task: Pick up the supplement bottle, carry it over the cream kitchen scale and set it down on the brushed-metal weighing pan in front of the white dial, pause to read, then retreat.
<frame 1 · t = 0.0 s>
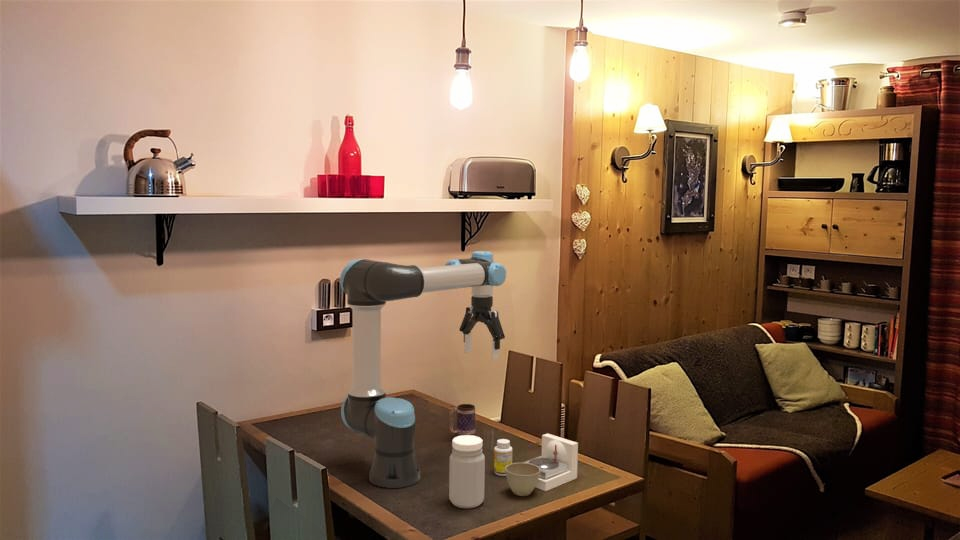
hand: (481, 355, 270), 28 cm above the table, fingers open, 13 cm apart
supplement bottle: (502, 473, 234), on the table
jar: (466, 503, 213), on the table
scale base: (543, 479, 229), on the table
pan: (543, 466, 229), point 4 cm above the table, slide at -0.2 cm
mug: (462, 440, 265), on the table
flower pot: (522, 493, 220), on the table
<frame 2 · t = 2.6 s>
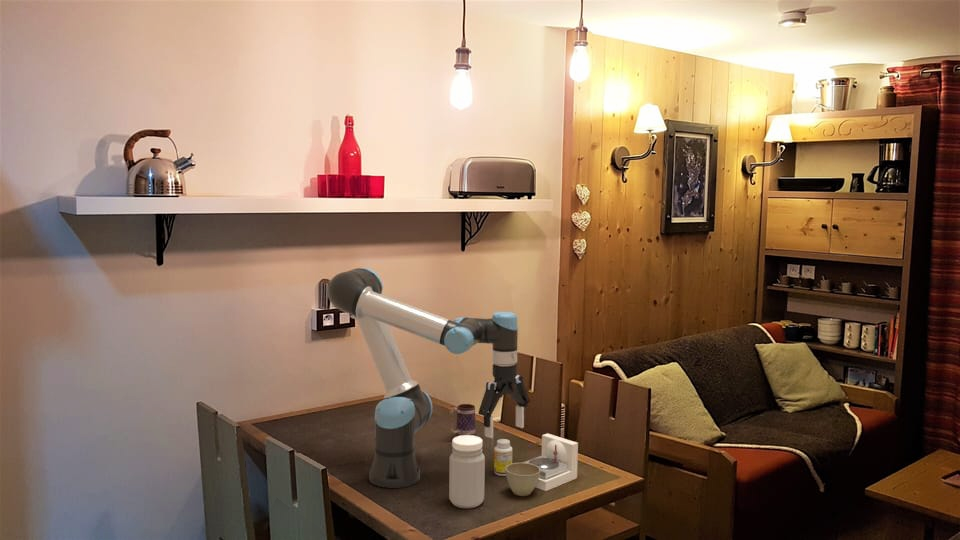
hand: (504, 431, 233), 13 cm above the table, fingers open, 13 cm apart
nothing on the table moved.
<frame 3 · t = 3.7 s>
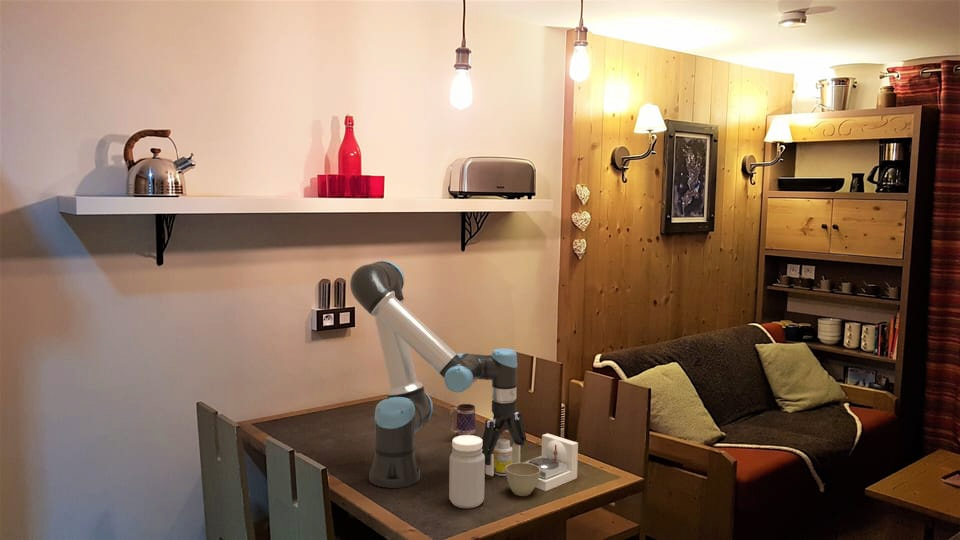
hand: (503, 469, 234), 1 cm above the table, fingers open, 11 cm apart
nothing on the table moved.
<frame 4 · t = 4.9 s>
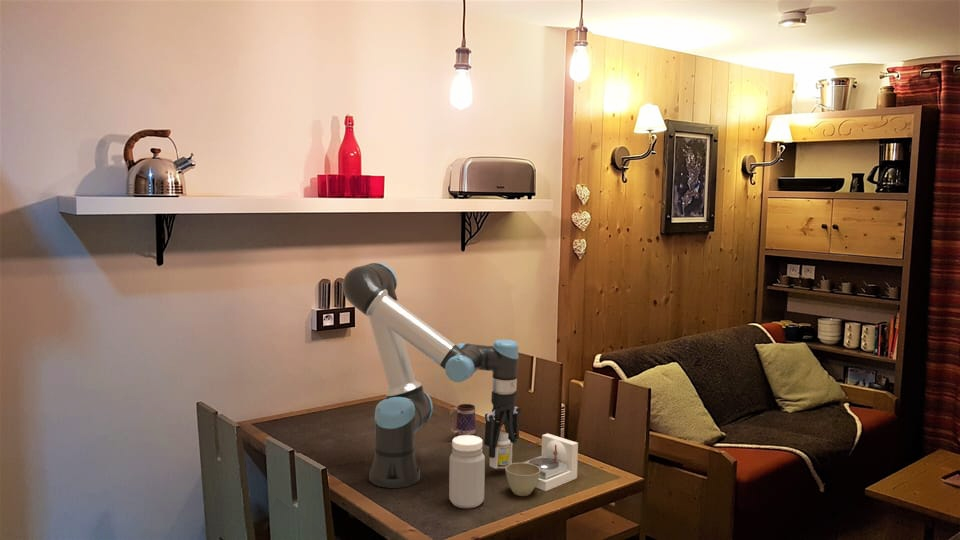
hand: (500, 464, 234), 3 cm above the table, fingers closed on supplement bottle, 6 cm apart
supplement bottle: (500, 466, 234), point 2 cm above the table, touching gripper
everything else where it was.
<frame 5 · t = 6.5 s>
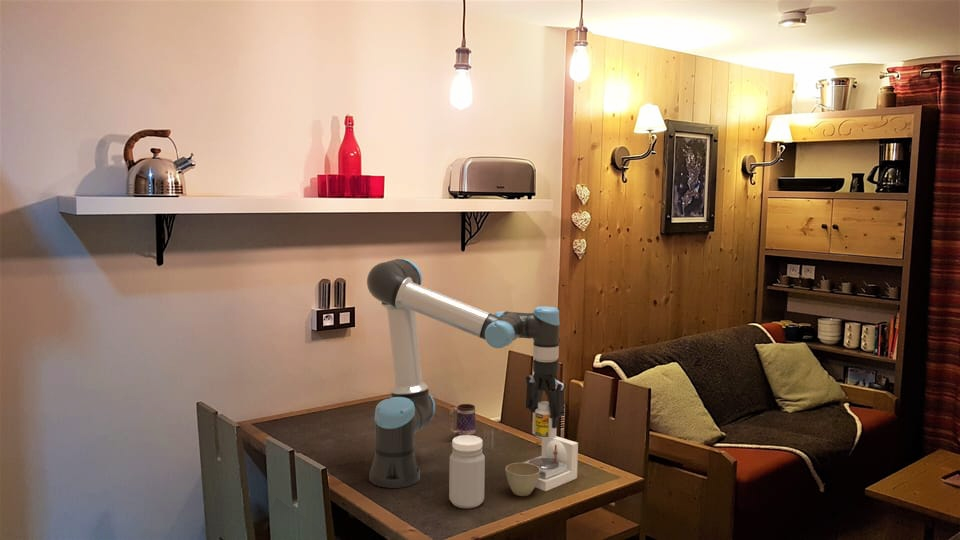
hand: (544, 435, 228), 14 cm above the table, fingers closed on supplement bottle, 6 cm apart
supplement bottle: (544, 437, 228), point 13 cm above the table, touching gripper
everything else where it was.
when the fingers open (7 cm above the table, at t = 7.9 s): supplement bottle drops 2 cm, resting on pan.
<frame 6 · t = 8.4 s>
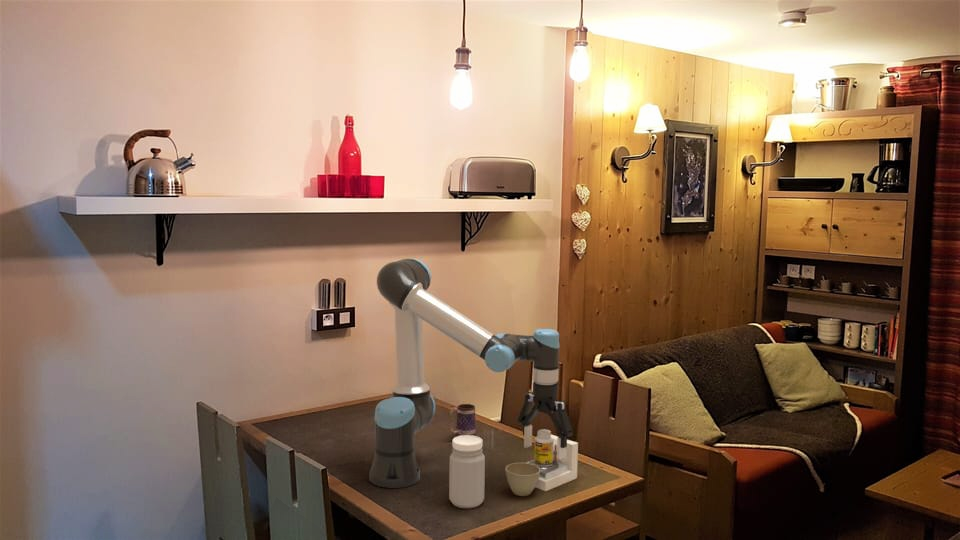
hand: (544, 452, 228), 9 cm above the table, fingers open, 12 cm apart
supplement bottle: (543, 465, 229), point 5 cm above the table, touching pan
pan: (543, 467, 229), point 4 cm above the table, slide at -0.5 cm, touching supplement bottle
everything else where it was.
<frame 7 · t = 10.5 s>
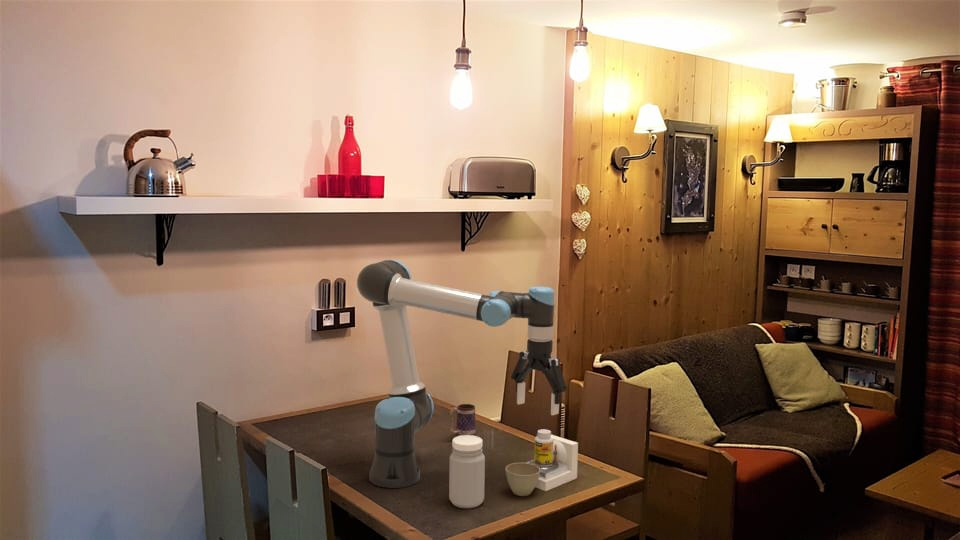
hand: (537, 408, 229), 21 cm above the table, fingers open, 13 cm apart
nothing on the table moved.
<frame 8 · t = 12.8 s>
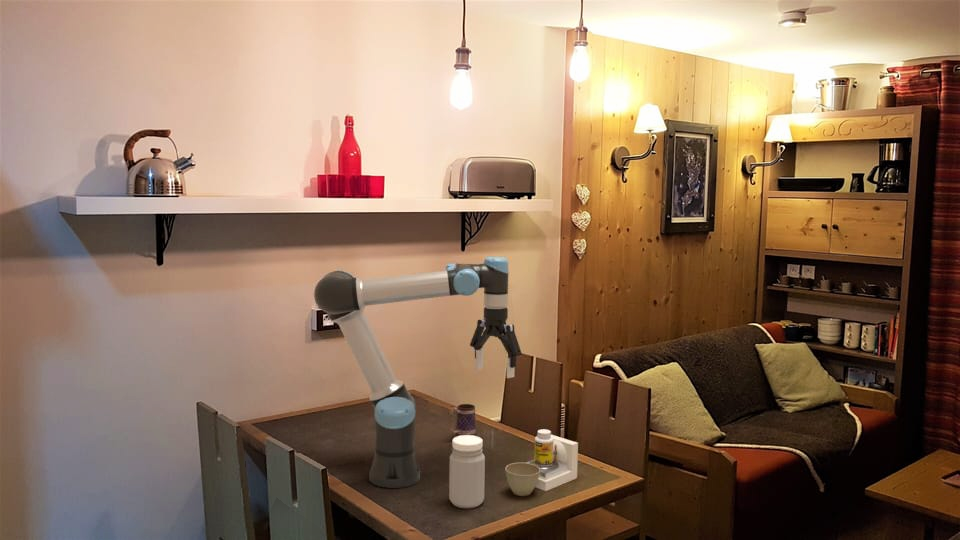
hand: (494, 373, 241), 29 cm above the table, fingers open, 13 cm apart
nothing on the table moved.
at the end: supplement bottle inside the target area on the scale base (0.1 cm from its centre), point 4.7 cm above the scale base's base; supplement bottle tilted 0°; the gripper is holding nothing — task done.
